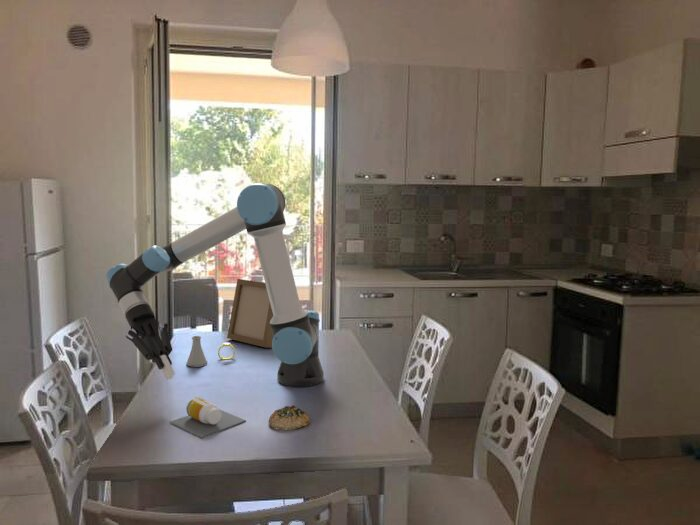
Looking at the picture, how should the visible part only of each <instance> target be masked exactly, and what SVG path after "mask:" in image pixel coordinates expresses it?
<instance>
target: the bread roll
mask: <svg viewBox="0 0 700 525" xmlns="http://www.w3.org/2000/svg"><path fill="white" fill-rule="evenodd" d="M268 423H269V426H270V427H271V428H272V427H273V428H272V429H274V428H277V429H281V430H280V431H290V430H289V429H295V430H298V429H297V428H299V429H301V428H304V427H303V426H305V427H306V426H308V425H309V424H310V423H311V421H310V418H309V415H308V414H307V413H306V412H305V411H304V410H303V409H300V408H299V406H295V405H294V404H293V405H290V406H288V405H286V406H285V407H282V408H279V409H276V410H274V412H273V413H272V414H271V415H270V416H269V419H268ZM286 429H287V430H286Z"/></svg>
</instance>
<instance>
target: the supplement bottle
mask: <svg viewBox="0 0 700 525" xmlns="http://www.w3.org/2000/svg"><path fill="white" fill-rule="evenodd" d="M218 409H219V408H218V407H217V405H216V404H214V403H212V402H210V401H209V400H208V401H207V400H206V399H204V398H201V397H198V396H195V397H192V398H191V399H190V400H188V402H187V404H186V406H185V411H186V414H187V416H188V415H189V416H190V417H192V418H194V419H196V420H198V421H200V422H202V423H204V424H209V423H210V424H216V423H218V422H219V420H220V419H221V411H220V410H221V409H220V410H218Z"/></svg>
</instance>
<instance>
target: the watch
mask: <svg viewBox="0 0 700 525" xmlns="http://www.w3.org/2000/svg"><path fill="white" fill-rule="evenodd" d="M223 347H231V348H232V349H233V354H232V355H231V356H230V357H222V356H221V354H220V351H221V349H222V348H223ZM217 354H218V358H220V360H223V361H225V360H224V359H226V360H228V359H229V360H233V358H234V357H235V355H236V350H235V347H234V346H233V345H232V344H231V342H223V343H222V344H221V345H220V346H219V348H218V350H217Z"/></svg>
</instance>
